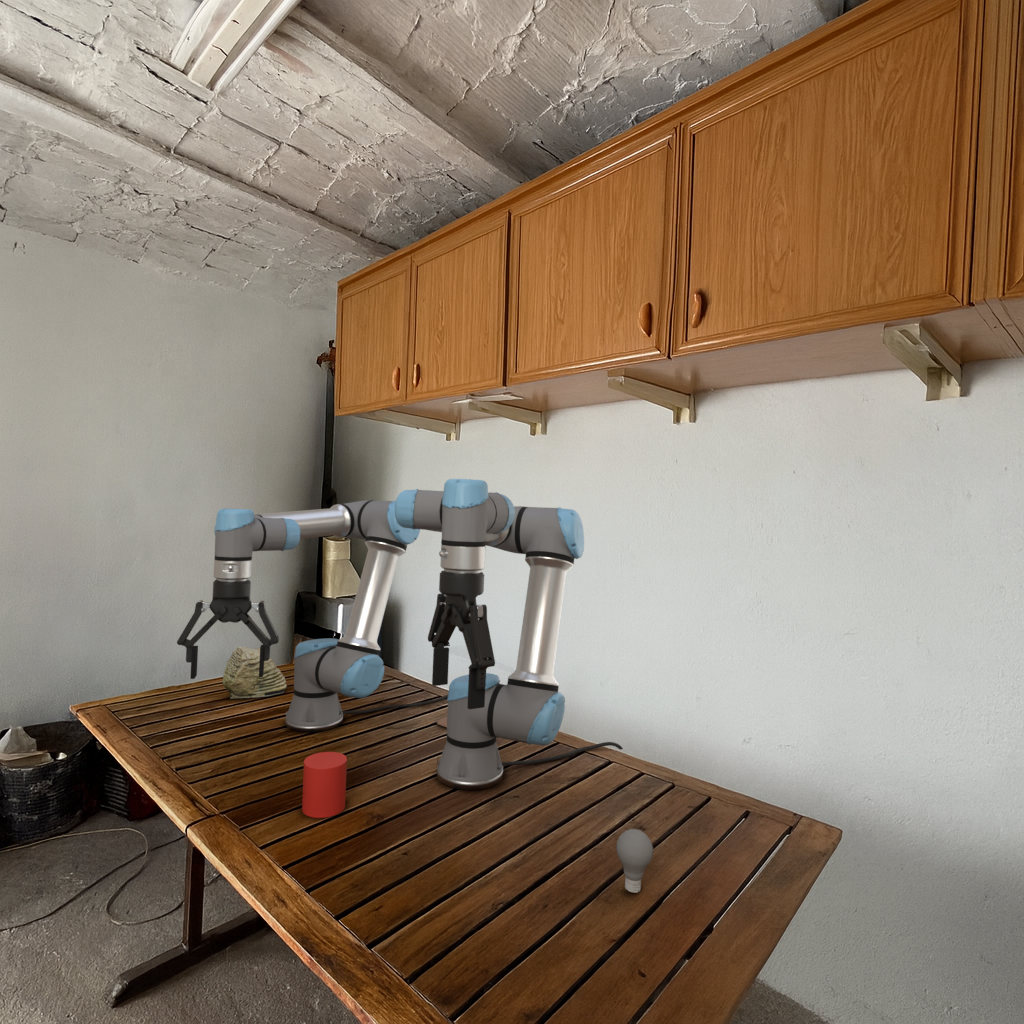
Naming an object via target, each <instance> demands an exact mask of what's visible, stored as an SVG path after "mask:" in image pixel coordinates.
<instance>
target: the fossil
mask: <svg viewBox="0 0 1024 1024" xmlns="http://www.w3.org/2000/svg"><path fill="white" fill-rule="evenodd" d="M259 662H260V647H258V648H251V647H247V646H246V647H245V646H238V647H237V648H236V649H235V650H233V651H232V653H231V656H230V657H229V659H228V660H227V663H226V666H225V668H224V671H223V675H222V676H223V677H222V685H223V687H224V688H225V690H226V691H228V693H229V698H230V699H250V698H264V697H271V696H275V695H281V694H284V693H285V691H286V689H287V687H288V686H287V680H286V678H285V676H284V674H283V673H282V672H281V669H279V668H278V667H277V665H276V663H275V662H274V660H273V659H272V658H271V657H270V658H269V660H268V661H264V674H263V677H259Z"/></svg>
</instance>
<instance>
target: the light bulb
mask: <svg viewBox="0 0 1024 1024" xmlns="http://www.w3.org/2000/svg"><path fill="white" fill-rule="evenodd" d="M615 849H616V854H617V857H618V859H619V861H620V863H621V865H622V867H623V873H624V874H623V875H624V876H625V878H624V888H625V890H627V891H628V892H630V893H634V894H635V893H639V892H640V891H641V889H642V887H641V886H642V879H643V877H644V875H645V871H646V868H647V867H648V866H649V864H650V863H651V861H652V859H653V855H654V847H653V843H652V841H651V838H649V836H648V835H647V834H646V833H645V832H643V831H642V830H641V829H636V828H629V829H627V830H625V831H623V832H622V833H621V834H620V835H619V837H618V839H617V841H616V847H615Z"/></svg>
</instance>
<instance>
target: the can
mask: <svg viewBox="0 0 1024 1024" xmlns="http://www.w3.org/2000/svg"><path fill="white" fill-rule="evenodd" d="M347 769H348V757H347V756H346V755H345V754H343V753H341V752H337V751H322V752H315V753H313V754H310V755H309V756H306V757H305V758H304V760H303V773H302V774H303V775H302V780H303V781H302V802H301V812H302V813H303V815H305V816H307V817H310V818H315V819H324V818H330V817H333V816H337V815H339V814H340V813H342V812H343V811H344V810H345V808H346V795H347V793H346V792H347V771H348V770H347Z"/></svg>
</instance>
